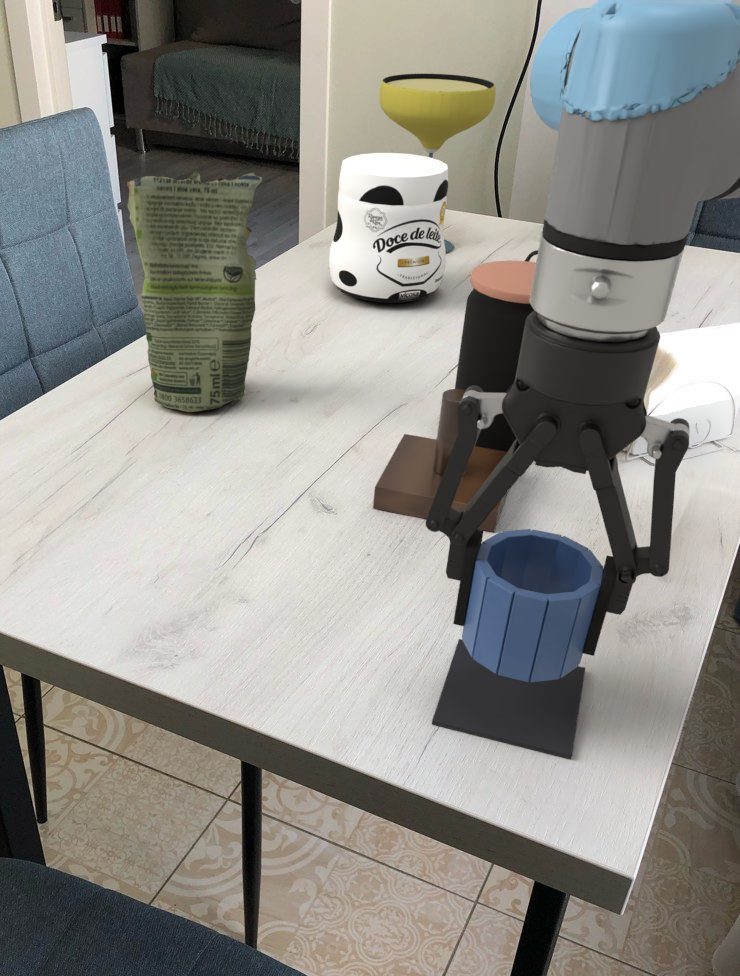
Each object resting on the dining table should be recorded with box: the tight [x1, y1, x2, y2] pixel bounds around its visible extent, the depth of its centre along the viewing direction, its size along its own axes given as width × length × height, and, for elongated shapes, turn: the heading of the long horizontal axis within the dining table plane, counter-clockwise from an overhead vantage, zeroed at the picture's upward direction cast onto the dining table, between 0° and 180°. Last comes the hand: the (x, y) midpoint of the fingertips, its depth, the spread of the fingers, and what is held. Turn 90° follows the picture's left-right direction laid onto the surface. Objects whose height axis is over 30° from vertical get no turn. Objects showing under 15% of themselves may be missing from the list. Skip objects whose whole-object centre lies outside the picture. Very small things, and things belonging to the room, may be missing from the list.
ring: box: [461, 528, 604, 682], centre depth 66 cm, size 8×8×7 cm
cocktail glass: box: [378, 73, 496, 254], centre depth 154 cm, size 18×18×25 cm
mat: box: [431, 638, 586, 760], centre depth 71 cm, size 10×10×1 cm
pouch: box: [126, 169, 263, 413], centre depth 105 cm, size 11×12×25 cm
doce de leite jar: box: [328, 152, 449, 304], centre depth 137 cm, size 17×17×18 cm
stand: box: [372, 388, 509, 533], centre depth 92 cm, size 12×12×10 cm
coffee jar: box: [454, 260, 536, 452], centre depth 99 cm, size 11×11×18 cm
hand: (524, 628), depth 67 cm, fingers closed on ring, 8 cm apart
